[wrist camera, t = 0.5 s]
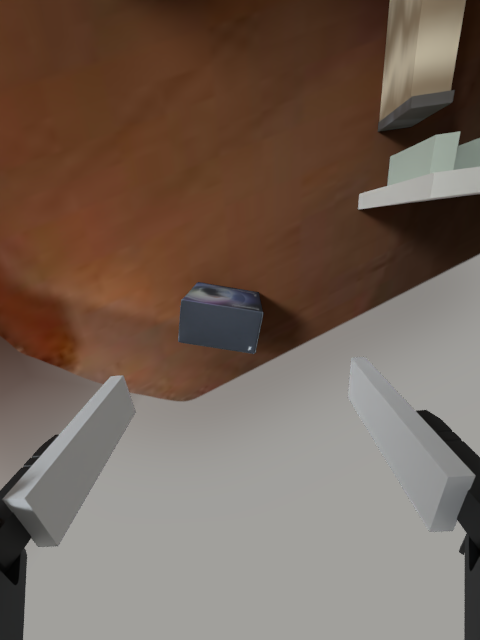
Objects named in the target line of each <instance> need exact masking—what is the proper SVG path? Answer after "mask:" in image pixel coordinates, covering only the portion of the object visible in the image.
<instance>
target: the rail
mask: <svg viewBox="0 0 480 640" xmlns="http://www.w3.org/2000/svg"><path fill="white" fill-rule="evenodd" d="M465 3H466V0H390V3H389V15H388V27H387V39H386V51H385V62H384V74H383V86H382V98H381V110H380V122H379V124H378V132H380V131H386V130H393V129H400V128H407V127H412V126H414V125H415V124H417V123H419V122H420V121H422V120H424V119H425V118H427V117H429V116H430V115H432V114H434V113H435V112H437V111H439V110H440V109H442V108H444V107H445V106H447V105H449V104H450V103H452V102H453V97H454V91H455V90H451V86H452V80H453V74H454V68H455V62H456V56H457V50H458V45H459V39H460V33H461V27H462V21H463V15H464V9H465Z"/></svg>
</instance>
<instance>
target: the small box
mask: <svg viewBox="0 0 480 640" xmlns="http://www.w3.org/2000/svg"><path fill="white" fill-rule="evenodd" d="M262 318H263V310H262V305H261V301H260V296H259V292H254V291H248V290H242V289H236V288H230V287H224V286H218V285H212V284H206V283H200V282H198V283H197V284H196V285H195V286H194V287H193V288H192V289H191V290H190V292H189V293H188V294H187V295H186V296H185V297H184V298H183V299H182V300H181V308H180V323H179V338H178V342H181V343H187V344H193V345H200V346H206V347H213V348H219V349H226V350H232V351H239V352H246V353H252V354H254V353H256V348H257V342H258V338H259V333H260V328H261V323H262Z"/></svg>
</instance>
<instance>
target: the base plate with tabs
mask: <svg viewBox="0 0 480 640" xmlns="http://www.w3.org/2000/svg"><path fill="white" fill-rule="evenodd" d="M460 132H461V131H460ZM460 132H453V133H446V134H439V135H435V136H433V137H431V138H428V139H426V140H424V141H422V142H420V143H418V144H416V145H414V146H412V147H410V148H408V149H405V150H403V151H401V152H399V153H397V154H395V155H393V156H391V157H390V165H389V174H388V184H387V186H385V187H382V188H378V189H375V190H371V191H368V192H364V193H361V194H359V205H358V209H366V208H374V207H382V206H390V205H397V204H405V203H413V202H421V201H429V200H437V199H445V198H453V197H461V196H468V195H476V194H480V138H478V139H475V140H473V141H470V142H468V143H465V144H462V145H460V146H458V142H459V137H460Z"/></svg>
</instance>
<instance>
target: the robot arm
mask: <svg viewBox="0 0 480 640" xmlns="http://www.w3.org/2000/svg"><path fill="white" fill-rule="evenodd" d="M348 398H349V400H350V402H351V403H352V405H353V407H354V408H355V410H356V412H357V413H358V415H359V417H360V418H361V420H362V422H363V423H364V425H365V427H366V428H367V430H368V432H369V433H370V435H371V437H372V438H373V440H374V441H375V443H376V445H377V446H378V448H379V450H380V451H381V453H382V455H383V456H384V458H385V460H386V461H387V463H388V465H389V466H390V468H391V470H392V471H393V473H394V474H395V476H396V478H397V479H398V481H399V483H400V484H401V486H402V488H403V489H404V491H405V493H406V494H407V496H408V497H409V499H410V501H411V503H412V504H413V506H414V508H415V509H416V511H417V513H418V514H419V516H420V517H421V519H422V521H423V522H424V524H425V526H426V527H427V529H428V531H429V532H437V531H453V529H454V527H455V525H456V522H457V520H458V521H459V523H460V524H461V525H462V527H463V528H464V530H465V531H466V532H467V534H466V536H465V539H464V541H463V543H462V545H461V547H460V550H459V552H460V553H461V554H463V555H464V553H465V640H480V457H479V456H478V455H477V454H475V452H474V451H472V449H471V448H470V447H469V446H468V445H467V444H466V443H465V442H462V441H461V439H460V438H459V437H458V436H457V435H456V434H455V433H454V432H452V430H451V429H450V428H449V427H448V426H447V425H446V424H445V423H444V422H443V421H442V420H441V419H440V418H438V417H437V416H435V415H433V414H432V413H430V412H428V411H427V410H422V411H415V410H414V409H413V408H412V407H411V405H410V404H409V403H408V402H407V401H406V400H405V399H404V398H403V397H402V396H401V395H400V394H399V393H398V391H396V389H395V388H394V387H393V386H392V385H391V384H390V383H389V382H388V381H387V380H386V378H384V376H383V375H382V374H381V373H380V372H379V371H378V370H377V369H376V368H375V367H374V366H373V364H371V362H370V361H369V360H368V359H367V358H366V357H356V358H351V367H350V378H349V389H348ZM135 413H136V411H135V408H134V405H133V402H132V399H131V396H130V393H129V390H128V388H127V385H126V382H125V379H124V376H111V377H110V378H109V379H108V380H107V381H106V382H105V383H104V385H103V386H102V387H101V388H100V389H99V390H98V391H97V393H96V394H95V395H94V396H93V397H92V398H91V400H90V401H89V402H88V403H87V404H86V405H85V406H84V407H83V408H82V410H81V411H80V412H79V413H78V414H77V415H76V416H75V418H74V419H73V420H72V421H71V422H70V423H69V424H68V425H67V427H66V428H65V429H64V430H63V431H62V432H61V433H60V434H59V435H55V436H54V437H52V438H51V439H49V440H48V441H47V442H45V443H44V444H43V445H42V446H41V447H40V448H39V449H38V450H37V451H36V452H35V453H34V455H33V456H32V458H30V459H29V460H28V461H27V462H26V463H25V464H24V467H23V468H21V469H20V470H19V471H18V472H17V473H16V474H15V475H14V476H13V477H12V478H11V480H10V481H9V482H8V483H7V484H6V485H5V486H4V487H3V488H2V490H1V491H0V640H23V627H24V626H23V625H24V605H25V585H26V564H27V563H26V562H27V554H26V550H25V549H24V547H25V546H26V545H27V543H28V542H29V540H30V539H31V538H32V539H33V541H34V542H35V543H36V545H37V546H38V547H49V546H58V545H59V544H60V542H61V540H62V538H63V537H64V535H65V533H66V532H67V530H68V528H69V526H70V524H71V523H72V521H73V519H74V518H75V516H76V514H77V513H78V511H79V509H80V507H81V506H82V504H83V502H84V500H85V499H86V497H87V495H88V494H89V492H90V490H91V488H92V487H93V485H94V483H95V481H96V480H97V478H98V476H99V475H100V472H101V471H102V469H103V468H104V466H105V464H106V463H107V461H108V459H109V457H110V456H111V454H112V452H113V450H114V449H115V447H116V445H117V444H118V441H119V440H120V438H121V437H122V435H123V433H124V431H125V430H126V428H127V426H128V425H129V423H130V421H131V419H132V417H133V416H134V414H135Z"/></svg>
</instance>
